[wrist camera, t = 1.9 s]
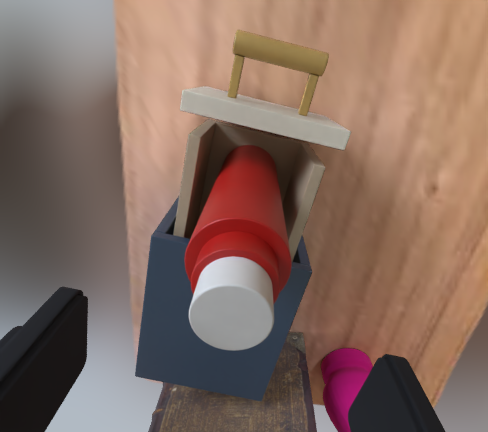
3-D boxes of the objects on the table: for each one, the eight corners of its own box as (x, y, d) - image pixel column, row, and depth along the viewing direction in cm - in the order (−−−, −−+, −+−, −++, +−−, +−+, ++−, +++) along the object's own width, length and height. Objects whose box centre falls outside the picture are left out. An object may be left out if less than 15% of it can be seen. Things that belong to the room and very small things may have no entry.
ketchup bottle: (228, 138, 26) (171, 246, 10) (282, 151, 26) (319, 279, 10) (217, 190, 28) (155, 354, 12) (268, 202, 28) (279, 379, 12)
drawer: (214, 31, 24) (193, 10, 16) (341, 64, 24) (378, 59, 17) (182, 226, 31) (157, 274, 24) (281, 248, 32) (288, 302, 24)
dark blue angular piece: (184, 187, 30) (150, 235, 21) (297, 214, 31) (312, 272, 22) (166, 300, 36) (134, 376, 27) (261, 321, 37) (261, 402, 28)
